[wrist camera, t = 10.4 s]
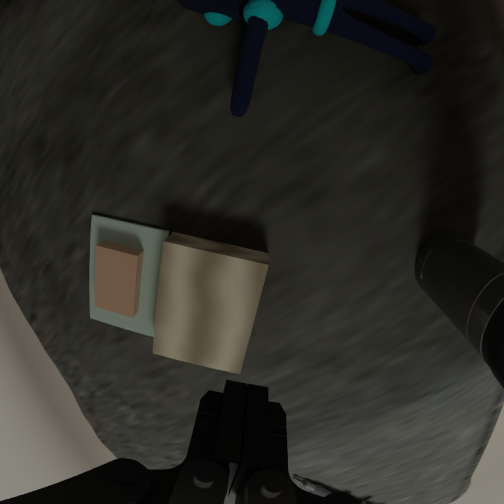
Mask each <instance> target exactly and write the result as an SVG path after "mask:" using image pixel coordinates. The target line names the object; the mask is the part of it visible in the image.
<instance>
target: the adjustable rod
mask: <svg viewBox="0 0 504 504" xmlns="http://www.w3.org/2000/svg"><path fill="white" fill-rule="evenodd" d="M293 479H297V480H298V481H300V482H301V483H303V486H305V487H306V488H308V489H309V490H310V491H311V492H312V493H314V494H316V495H319V496H323V497H325V496H327V495H328V494H331V493H332V492H330V491H328V490H327V489H325V488H323V487H321V486H319V485H317V484H313V483H311V482H309V481H307V480H305V481H302V480H300V479H298V478H297V476H294V477H293ZM361 504H366V502H365V501H362V502H361Z"/></svg>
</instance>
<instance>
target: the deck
mask: <svg viewBox="0 0 504 504" xmlns="http://www.w3.org/2000/svg"><path fill="white" fill-rule="evenodd" d="M268 265H269V260H268V253H266V252H261V251H257V250H252V249H248V248H243V247H239V246H234V245H230V244H225V243H221V242H216V241H212V240H207V239H203V238H198V237H194V236H189V235H185V234H180V233H176V232H173V233H172V234H171V235H170V236H169V237H168V238H167V239H166V240H165V241H164V242H163V250H162V258H161V266H160V275H159V284H158V294H157V304H156V316H155V328H154V341H153V353H154V354H158V355H161V356H165V357H169V358H173V359H177V360H180V361H184V362H188V363H193V364H197V365H201V366H205V367H210V368H214V369H219V370H223V371H228V372H233V373H238V374H240V372H241V368H242V364H243V360H244V357H245V353H246V349H247V346H248V342H249V338H250V334H251V331H252V327H253V323H254V319H255V315H256V312H257V308H258V304H259V300H260V296H261V292H262V288H263V285H264V281H265V277H266V273H267V269H268Z"/></svg>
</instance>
